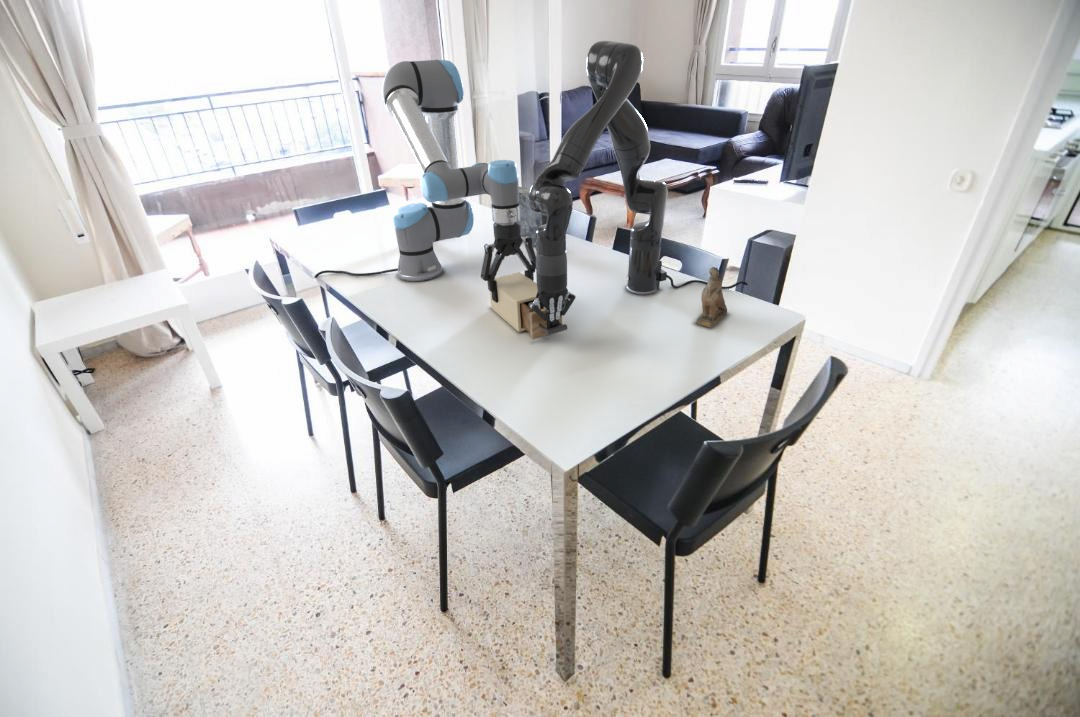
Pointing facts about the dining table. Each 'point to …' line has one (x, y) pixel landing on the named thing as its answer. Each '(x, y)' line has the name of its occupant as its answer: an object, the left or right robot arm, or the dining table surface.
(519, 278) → the cabinet
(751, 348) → the dining table surface
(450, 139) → the left robot arm
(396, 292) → the dining table surface
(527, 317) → the drawer
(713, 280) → the brown carved statuette
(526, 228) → the concrete block
